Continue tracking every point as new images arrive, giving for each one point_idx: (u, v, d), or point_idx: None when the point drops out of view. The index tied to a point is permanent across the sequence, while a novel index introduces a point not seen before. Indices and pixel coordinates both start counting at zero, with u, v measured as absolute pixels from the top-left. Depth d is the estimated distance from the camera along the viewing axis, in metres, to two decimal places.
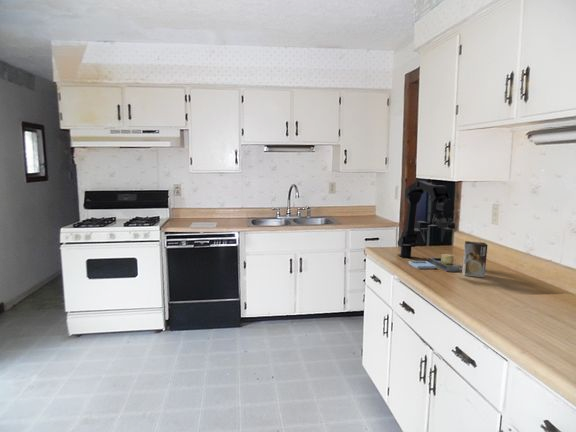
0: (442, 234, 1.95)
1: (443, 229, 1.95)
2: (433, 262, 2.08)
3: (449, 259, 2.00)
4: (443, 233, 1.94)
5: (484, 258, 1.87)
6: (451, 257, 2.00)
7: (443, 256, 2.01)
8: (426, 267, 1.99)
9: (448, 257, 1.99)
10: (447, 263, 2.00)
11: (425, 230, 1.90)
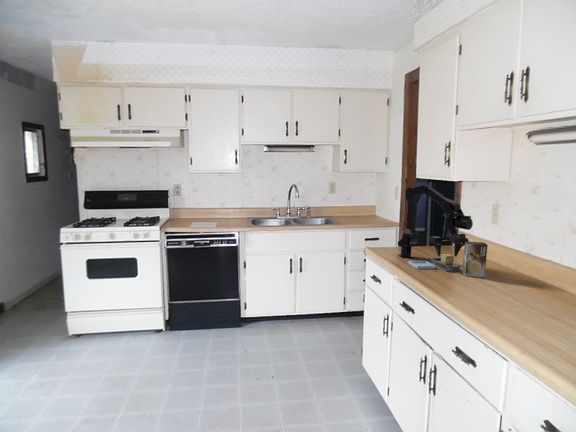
0: (455, 248, 2.03)
1: (456, 244, 2.02)
2: (433, 262, 2.08)
3: (449, 259, 2.00)
4: (456, 248, 2.01)
5: (484, 258, 1.87)
6: (451, 257, 2.00)
7: (443, 256, 2.01)
8: (426, 267, 1.99)
9: (448, 257, 1.99)
10: (447, 263, 2.00)
11: (439, 245, 1.97)
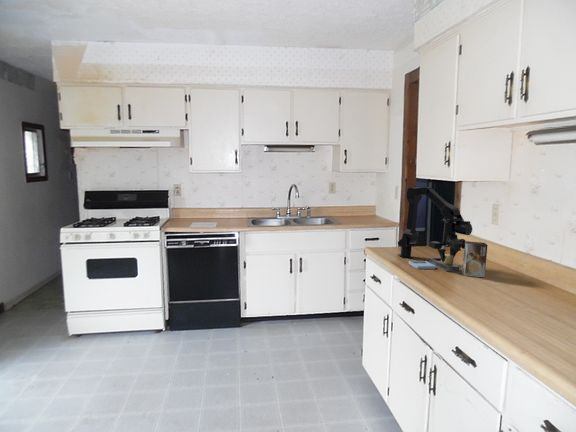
0: (450, 253, 2.03)
1: (452, 249, 2.02)
2: (433, 262, 2.08)
3: (449, 259, 1.99)
4: (452, 253, 2.01)
5: (484, 258, 1.87)
6: (451, 257, 1.99)
7: None
8: (426, 267, 1.99)
9: (448, 257, 1.99)
10: (447, 263, 2.00)
11: (443, 250, 1.98)
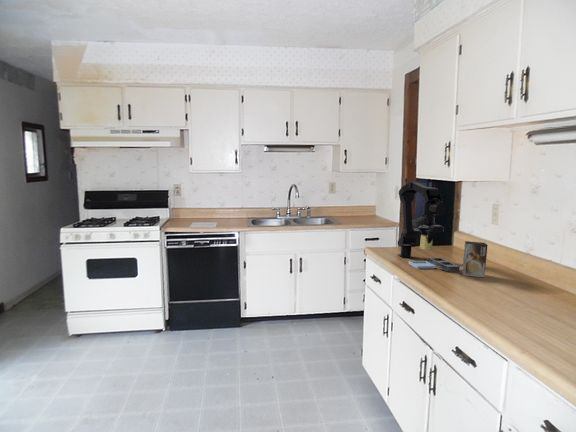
0: None
1: None
2: (433, 262, 2.08)
3: (422, 239, 2.02)
4: None
5: (484, 258, 1.87)
6: (424, 237, 2.01)
7: None
8: (426, 267, 1.99)
9: (422, 236, 2.02)
10: (421, 242, 2.03)
11: (419, 229, 2.05)
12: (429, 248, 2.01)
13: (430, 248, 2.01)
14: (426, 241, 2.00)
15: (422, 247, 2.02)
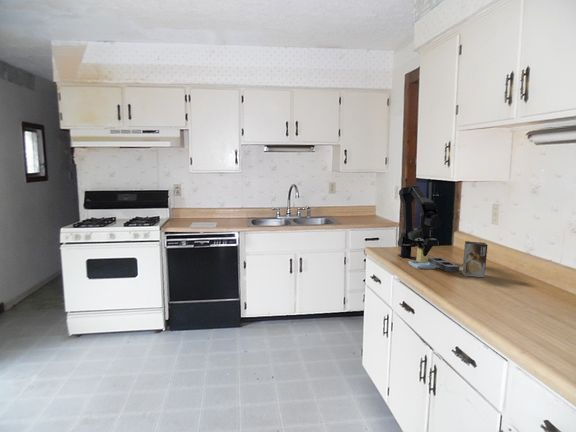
0: None
1: None
2: (433, 262, 2.08)
3: (419, 252, 2.03)
4: None
5: (484, 258, 1.87)
6: (420, 250, 2.02)
7: None
8: (426, 267, 1.99)
9: (418, 249, 2.04)
10: (417, 255, 2.04)
11: (415, 241, 2.06)
12: (425, 261, 2.02)
13: (426, 261, 2.02)
14: (422, 254, 2.01)
15: (418, 260, 2.03)
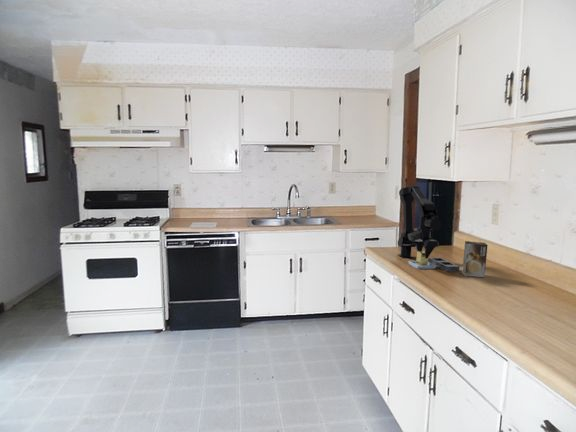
0: None
1: None
2: (433, 262, 2.08)
3: (418, 255, 2.03)
4: None
5: (484, 258, 1.87)
6: (419, 253, 2.02)
7: None
8: (426, 267, 1.99)
9: (418, 253, 2.04)
10: (417, 258, 2.04)
11: (414, 242, 2.08)
12: (425, 264, 2.02)
13: (426, 264, 2.02)
14: (422, 257, 2.01)
15: (418, 263, 2.04)
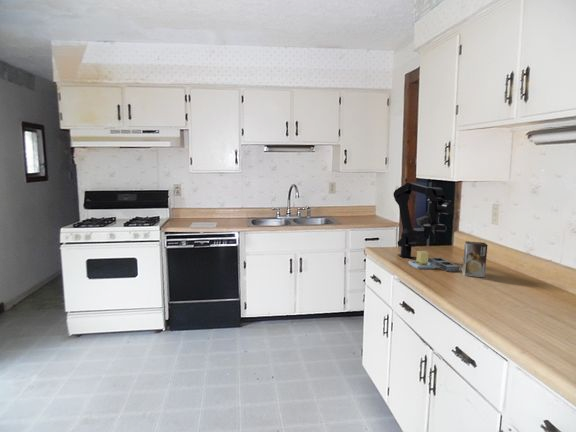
0: None
1: None
2: (433, 262, 2.08)
3: (418, 255, 2.03)
4: None
5: (484, 258, 1.87)
6: (419, 253, 2.02)
7: None
8: (426, 267, 1.99)
9: (418, 253, 2.04)
10: (417, 258, 2.04)
11: (422, 227, 2.12)
12: (425, 264, 2.02)
13: (426, 264, 2.02)
14: (422, 257, 2.01)
15: (418, 263, 2.04)
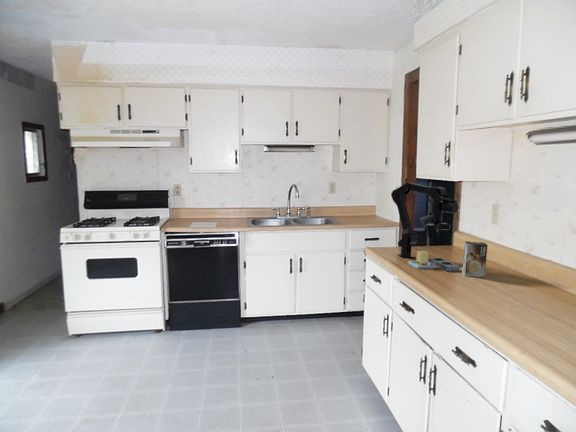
0: None
1: None
2: (433, 262, 2.08)
3: (418, 255, 2.03)
4: None
5: (484, 258, 1.87)
6: (419, 253, 2.02)
7: None
8: (426, 267, 1.99)
9: (418, 253, 2.04)
10: (417, 258, 2.04)
11: (425, 226, 2.13)
12: (425, 264, 2.02)
13: (426, 264, 2.02)
14: (422, 257, 2.01)
15: (418, 263, 2.04)
